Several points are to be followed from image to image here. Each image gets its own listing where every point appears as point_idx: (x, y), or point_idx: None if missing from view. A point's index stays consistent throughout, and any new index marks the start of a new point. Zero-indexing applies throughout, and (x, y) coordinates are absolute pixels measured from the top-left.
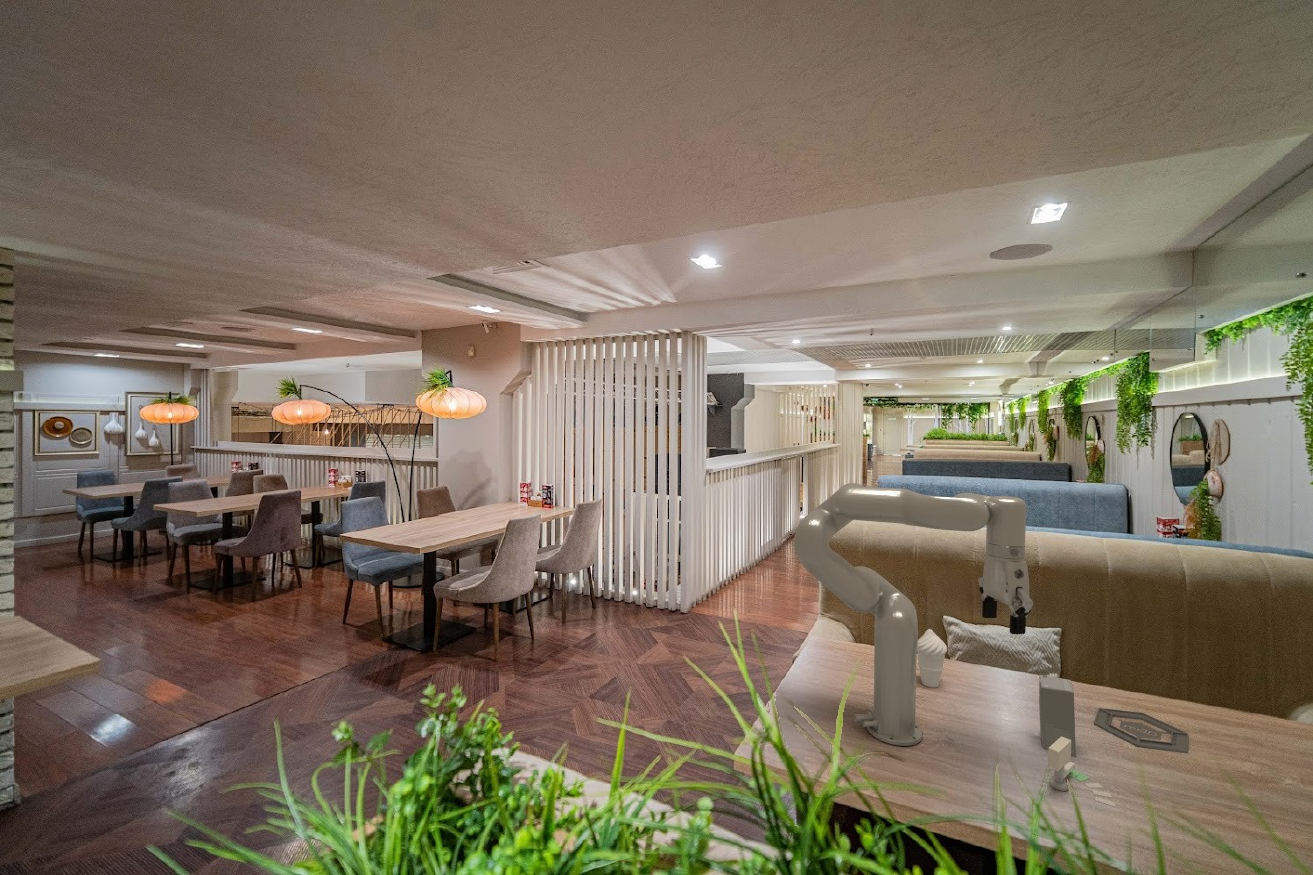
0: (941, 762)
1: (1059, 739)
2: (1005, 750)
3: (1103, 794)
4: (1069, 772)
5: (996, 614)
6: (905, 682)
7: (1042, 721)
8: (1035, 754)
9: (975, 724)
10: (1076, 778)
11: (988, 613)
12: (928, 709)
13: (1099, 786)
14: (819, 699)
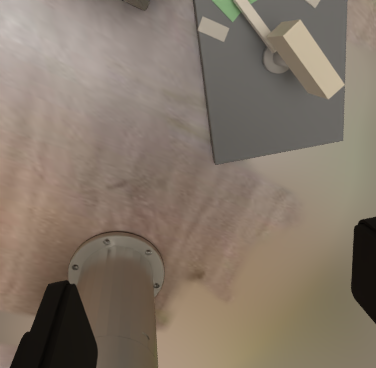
0: (201, 220)
1: (296, 50)
2: (144, 91)
3: None
4: (232, 4)
5: (68, 297)
6: (156, 352)
7: (142, 5)
8: (149, 30)
9: (45, 111)
10: (252, 2)
11: (86, 354)
12: (3, 191)
13: None
14: None
